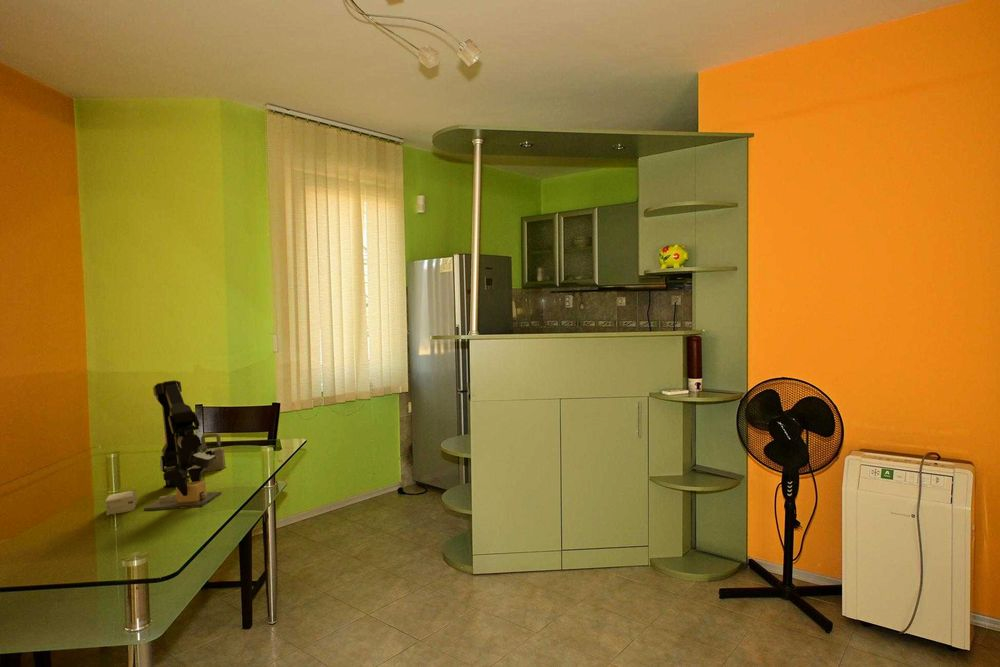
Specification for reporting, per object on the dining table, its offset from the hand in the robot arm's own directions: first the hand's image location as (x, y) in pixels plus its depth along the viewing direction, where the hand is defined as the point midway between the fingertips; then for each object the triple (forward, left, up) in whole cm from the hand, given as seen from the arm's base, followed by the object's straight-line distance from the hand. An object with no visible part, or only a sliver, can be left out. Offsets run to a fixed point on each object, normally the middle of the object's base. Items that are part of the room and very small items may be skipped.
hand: (191, 492), depth 195 cm
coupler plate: (-3, 0, -3) cm, 4 cm away
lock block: (0, 0, -2) cm, 2 cm away
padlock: (-14, +40, -3) cm, 43 cm away
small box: (-23, -3, -4) cm, 23 cm away
